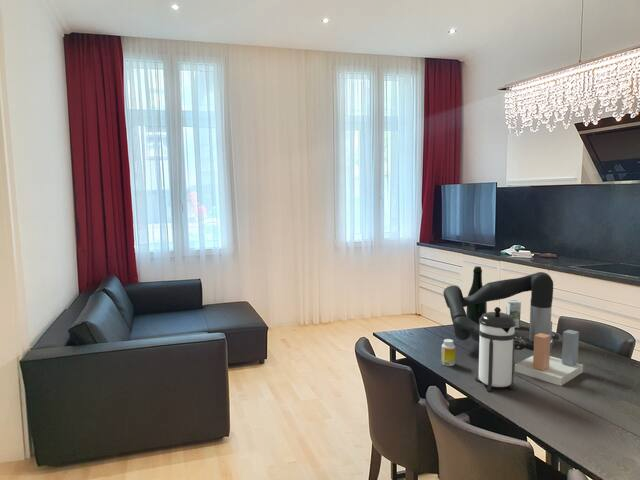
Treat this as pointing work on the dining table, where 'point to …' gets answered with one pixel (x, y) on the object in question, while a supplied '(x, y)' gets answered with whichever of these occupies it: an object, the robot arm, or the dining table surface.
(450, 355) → the supplement bottle
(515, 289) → the robot arm
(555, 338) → the toggle lever
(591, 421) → the dining table surface
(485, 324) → the coffee press
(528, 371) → the control board
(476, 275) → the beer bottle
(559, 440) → the dining table surface
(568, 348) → the slate slider
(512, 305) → the syrup box
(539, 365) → the terracotta slider
